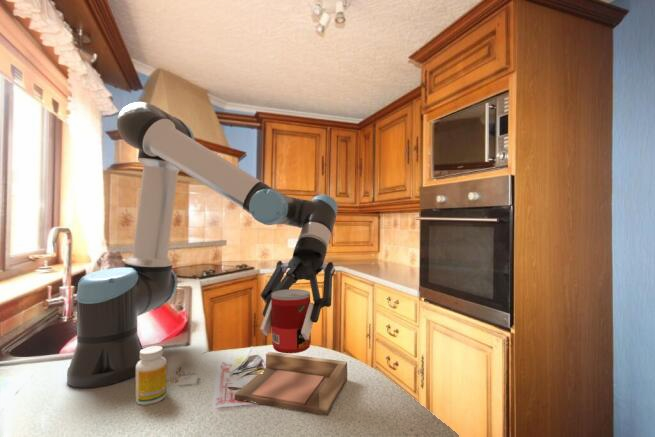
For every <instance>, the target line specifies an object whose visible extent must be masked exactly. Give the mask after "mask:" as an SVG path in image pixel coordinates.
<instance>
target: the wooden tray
mask: <svg viewBox="0 0 655 437" xmlns="http://www.w3.org/2000/svg"><path fill="white" fill-rule="evenodd" d="M263 369H264V372H263V374H259V373H257V374H256V375H255V376H254V377H253V378H252V379H250V380H249V381H248V382H247V383H246V384H245V385H243V387H241V388H240V389H239V390H238V391H236V392H235V393H234V400H235V399H239V400H238V401H241V400H246V401H253V402H256V403H255V404H257V403H258V405H264V406H269V407H273V408H281V409H286V410H292V411H295V412H301V413H308V414H314V415H318V416H324V417H328V415H329V413H330V412H331V410H332V409H333V407H334V405H335V403H336V401H337V399H338V398H339V396H340V394H341V393H342V391H343V389H344V387H345V385H346V383H347V382H348V361H346V360H345V361H344V360H339V359H338V360H337V359H328V358H321V357H313V356H306V355H297V354H292V353H281V352H274V351H273V352H272V351H268V352H267V353H266V354H265V368H263ZM246 401H245V402H246Z"/></svg>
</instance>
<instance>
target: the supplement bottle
mask: <svg viewBox="0 0 655 437" xmlns="http://www.w3.org/2000/svg"><path fill="white" fill-rule="evenodd" d="M163 354H164V349H163V346H161V345H151V346H148V347H144V348H143V349H142V350H141V351H140V359H141V360H140V361H139V362H138V363H137V364H136V375H135V389H134V390H135V392H134V393H135V403H137V405H142V406H144V405H148V406H149V405H153V404H156V403H158V402H160V401H162V400H164V398H165V397H166V395H167V359H166V358H165V357H164V356H163Z"/></svg>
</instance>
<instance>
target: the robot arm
mask: <svg viewBox="0 0 655 437" xmlns="http://www.w3.org/2000/svg"><path fill="white" fill-rule="evenodd" d="M116 128H117V132H118V134H119V136H120V137H121V139H122V140H123V141H124V142H125V143H126V144H127V145H129V146H131V147H133V148H134V149H137V150H138V154H137V161H138V162H139V163H140V164H141V165H142V167H143V169H142V174H141V175H142V176H141V183H140V191H139V200H138V208H137V216H136V224H135V229H134V230H135V233H134V239H133V248H132V254H131V255H130V257H128V258H126V260H124V264H123V265H124V266H123V267H113V268H108V269H101V270H96V271H93V272H90V273H87V274H86V275H84V276H82V277H81V278H80V279H79V281H78V283H77V292H76V296H75V298H76V333H77V335H76V337H77V338H76V340H77V341H76V342H77V343H76V346H75V350H74V352H73V355H72V358H71V361H70V364H69V367H68V369H67V372H66V383H67V384H68V385H69V386H71V387H72V388H73V387H74V388H82V389H83V388H84V389H85V388H98V387H102V386H107V385H112V384H115V383H119V382H122V381H125V380H128V379H130V378H132V377H134V376H136V364H137V363H138V362H139V361H140V360H141V359H140V351H141V350H142V349H144V348H143V345H142V343H141V340H140V337H139V335H138V317H139V316H141V315H143V314H146V313H149V312H151V311H155V310H158V309H159V308H162V307H163V306H164V305H166V304H168V302H170V301H171V300H172V299H173V298H174V295H175V294H176V293H177V289H178V277H177V275H176V274H175V271H174V270H173V261H171V259H170V258H169V257H168V256H169V255H168V254H169V247H170V239H171V238H170V237H171V233H172V232H171V231H172V223H173V217H174V216H173V215H174V207H175V200H176V199H175V198H176V194H177V193H176V190H177V184H178V176H179V172H181V171H182V172H183V173H185V174H186V175H188V176H189V177H191V178H193V179H195V180H196V181H198V182H199V183H201V184H202V185H204V186H206V187H208V188H209V189H211V190H212V191H214V192H216V193H217V194H219V195H220V196H222V197H224V198H225V199H226V200H228V201H230V202H232V203H233V204H235V205H236V206H237V207H240V208H241V209H243V211H245V212H247V213H248V214H250V215H251V216H252V217H253V219H254V220H255V221H257V222H258V223H261V224H262V225H266V226H273V225H286V226H289V227H294V228H295V227H296V228H299V229H300V233H299V236H298V238H297V241H296V244H295V246H294V249H293V253H292V258H290V260H289V261H287V262H282V260H278V261H277V262H276V266H275V268H274V269H275V270H274V271H273V273H272V275H271V276H270V279H269V280H268V282H267V284H266V285H265V286H264V288H263V290H262V291H261V293H260V297H261V299H262V300H263V301H264V303H265V306H264V309H263V311H262V316H263V317H264V318H263V319H262V322H261V325H260V328H259V329H260V331H261V332H262V333H263V334H264V336H270V332H271V331H272V308H271V296H272V293H273V292H275V291H279V290H286V289H291V287H292V285H293V284H296V283H297V282H298V281H302V280H306V281H309V283H310V288H311V294H312V301H313V302H310V303H309V306H308V310H307V313H306V317H305V320H304V324H303V327H302V331H301V334H302V335H303V337H304V339H305V340H309V336H310V333H312V332H311V331H312V328H313V325H314V323H317V322H318V321H319V318H320V314H321V310H322V308H324V307H326V308H331V306H332V298H333V297H332V292H333V277H334V274H335V272H336V269H335V266H334V263H333V261H328V263H326V262H325V259H326V256H327V251H328V248H329V244H330V241H331V237H332V233H333V230H334V226H335V223H336V220H337V214H338V208H339V206H338V203H337V201H336V199H334V198H333V197H332V196H330V195H328V194H318V195H316V196H314V197H313V198H312V199H311V200H309V199H301V198H297V197H293V196H290V195H286V194H284V193H282V192H279V191H277V190H276V189H274V188H272V187H271V186H270V185H269V184H266V183H264V182H263V181H261V180H260V179H258V178H256V177H255V176H253V175H252V174H250V173H248V172H247V171H245V170H243V169H242V168H240V167H238V166H237V165H236V164H234V163H232V162H230V161H229V160H227V159H225V158H224V157H222V156H220V155H219V154H217V153H216V152H214V151H213V150H211V149H209V148H208V147H206V146H204V145H203V144H201V143H200V142H197V141H196V140H195V135H194V133H193V131H192V130H191V128H190V127H189V126H188V125H187V124H185V122H184V121H182V120H181V119H179V118H178V117H176V116H173V115H171V114H170V113H168V112H166V111H164V110H162V109H161V108H159V107H158V106H156V105H154V104H152V103H149V102H143V101H138V102H137V101H136V102H133V103H129V104H128V105H126V106H124V107H123V108H122V109H121V110H120V111H119V113H118V116H117V120H116ZM322 271H323V272H324V274H323V288H322V289H323V290H322V292H323V293H322V297H321V293H320V289H319V284H318V278H317V275H318V274H320V273H321V272H322Z"/></svg>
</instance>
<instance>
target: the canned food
mask: <svg viewBox="0 0 655 437" xmlns="http://www.w3.org/2000/svg"><path fill="white" fill-rule="evenodd" d="M310 292H311V291H308V290H306V289H298V288H292V289H291V288H289V289H286V290H279V291H275V292H273V293H272V296H271V308H272V327H271V345H272V348H273V349H274V351H276V352H277V353H283V354H298V353H299V354H300V353H303V352H305V351H307V350H309V348H310V346H311V343H312V334H311V333H312V332H311V333H310V336H309V340H305V339H304V337H303V335H302V334H301V331H302V327H303V324H304V320H305V317H306V313H307V310H308V306H309V303H311V293H310Z"/></svg>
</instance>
